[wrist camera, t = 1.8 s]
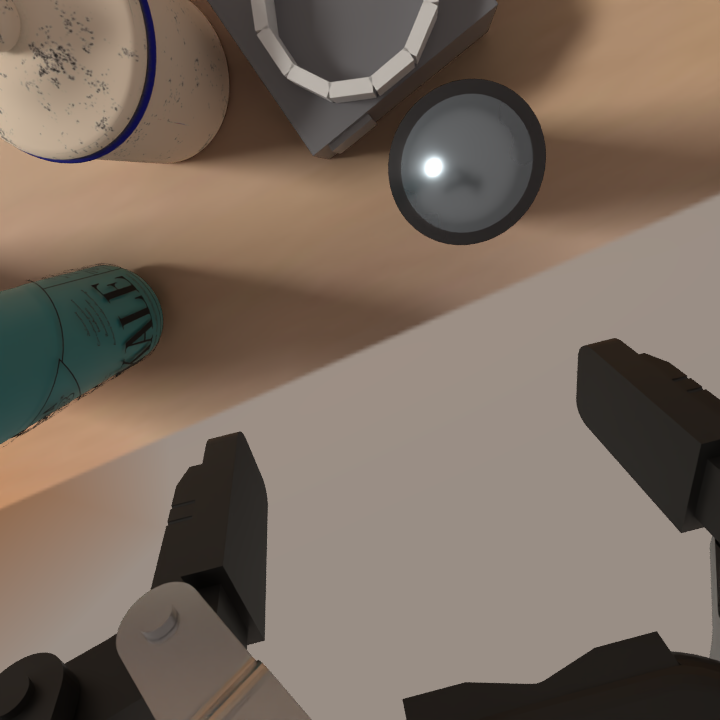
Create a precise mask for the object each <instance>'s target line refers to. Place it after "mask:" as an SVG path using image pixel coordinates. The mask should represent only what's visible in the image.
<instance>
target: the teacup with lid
mask: <svg viewBox="0 0 720 720" xmlns="http://www.w3.org/2000/svg"><path fill="white" fill-rule="evenodd" d="M228 98H229V73H228V66H227V61H226V57H225V54H224V50H223V48H222V45H221V42H220V40H219V38H218V36H217V34H216V32H215V30H214V29H213V27H212V25H211V24H210V22H209V21H208V20H207V18H206V17H205V16H204V15H203V13H202V12H201V11H200V10H199V9H198V8H197V7H196V6H195V5H194V4H193V3H192V2H190V1H189V0H0V138H2V139H3V140H5V141H6V142H8V143H9V144H11V145H13V146H14V147H16V148H18V149H20V150H22V151H24V152H26V153H28V154H30V155H32V156H35V157H37V158H40V159H44V160H47V161H51V162H58V163H82V162H87V161H91V160H95V159H100V160H115V161H130V162H145V163H161V164H167V163H175V162H180V161H183V160H186V159H188V158H190V157H192V156H194V155H196V154H197V153H199V152H200V151H201V150H203V149H204V148H205V147H206V146H207V145H208V144H209V143H210V142H211V140H212V139H213V138H214V136H215V135H216V133H217V132H218V130H219V128H220V126H221V124H222V122H223V119H224V116H225V113H226V109H227V105H228Z"/></svg>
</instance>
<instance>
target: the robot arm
mask: <svg viewBox="0 0 720 720" xmlns="http://www.w3.org/2000/svg"><path fill="white" fill-rule="evenodd" d="M576 396H577V397H576V399H577V400H576V402H577V408H578V411H579V414H580V416H581V418H582V420H583V422H584V423H585V424H586V426H587V427H588V428H589V429H590V430H591V431H592V433H593V434H594V435H595V436H596V437H597V438H598V439H599V441H600V442H601V443H602V444H603V445H604V446H605V447H606V449H607V450H608V451H609V452H610V453H611V454H612V455H613V456H614V458H615V459H616V460H617V461H618V462H619V463H620V464H621V465H622V467H623V468H624V469H625V470H626V471H627V472H628V473H629V475H630V476H631V477H632V478H633V479H634V480H635V481H636V482H637V483H638V485H639V486H640V487H641V488H642V489H643V490H644V491H645V493H646V494H647V495H648V496H649V497H650V498H651V499H652V501H653V502H654V503H655V504H656V505H657V506H658V507H659V508H660V510H661V511H662V512H663V513H664V514H665V515H666V516H667V518H668V519H669V520H670V521H671V522H672V523H673V524H674V525H675V527H676V528H677V529H678V530H679V531H680V532H681V533H683V532H687V531H691V530H695V529H699V528H703V527H705V528H706V529H707V530H708V531H709V532H710V533H711V535H712V539H711V543H710V564H711V593H712V626H713V630H712V631H713V632H712V643H711V650H710V657H709V658H707V657H702V656H699V655H694V654H688V653H681V652H671V651H670V650H669V649H668V647H667V646H666V644H665V643H664V641H663V640H662V638H661V637H660V636H659V634H658V632H652V633H649V634H645V635H641V636H637V637H634V638H630V639H626V640H622V641H619V642H615V643H611V644H608V645H604V646H600V647H596V648H594V649H592V650H591V651H589V652H588V653H587V654H585V655H583V656H582V657H580V658H578V659H577V660H576V661H574V662H572V663H571V664H569V665H568V666H566V667H565V668H563V669H562V670H560V671H558V672H557V673H555V674H554V675H552V676H551V677H549V678H548V679H546V680H545V681H542V682H540V683H537V684H509V683H470V682H468V683H467V682H465V683H461V684H458V685H454V686H450V687H446V688H443V689H439V690H435V691H432V692H428V693H424V694H420V695H416V696H413V697H409V698H405V699H403V704H404V709H405V714H406V720H720V399H718V398H717V397H716V396H714V395H713V394H711V393H710V392H709V391H707V390H703V389H702V386H700V385H699V384H698V383H696V382H695V381H694V380H692V379H691V378H690V379H688V378H687V375H685V374H684V373H683V372H681V371H680V370H679V369H677V368H676V367H675V366H673V365H672V364H670V363H669V362H667V361H664V360H661V359H659V358H656V357H653V356H651V355H648V354H645V353H643V354H638V353H636V352H635V351H634V350H632V349H631V348H630V347H628V346H627V345H626V344H624V343H623V342H622V341H621V340H619V339H616V338H613V339H609V340H605V341H601V342H597V343H593V344H589V345H585V346H583V347H581V348H580V350H579V353H578V371H577V395H576ZM267 513H268V502H267V493H266V488H265V484H264V481H263V478H262V476H261V473H260V471H259V469H258V467H257V464H256V462H255V459H254V457H253V455H252V452H251V450H250V448H249V445H248V443H247V441H246V438H245V436H244V434H243V433H242V432H237V433H233V434H228V435H224V436H221V437H216V438H213V439H209V440H208V441H207V444H206V448H205V453H204V459H203V463H202V464H201V465H196V466H192V467H189V469H188V470H187V472H186V473H185V474H184V476H183V477H182V479H181V480H180V482H179V483H178V485H177V486H176V490H175V494H174V498H173V502H172V509H171V510H170V514H169V518H168V526H166V531H165V534H164V538H163V542H162V546H161V550H160V554H159V559H158V562H157V566H156V571H155V575H154V579H153V583H152V587H151V590H150V591H149V592H147V593H146V594H144V595H143V596H142V597H141V598H139V600H137V601H136V602H135V603H134V604H133V605H132V607H131V608H130V609H129V610H128V612H127V613H126V615H125V616H124V618H123V620H122V621H121V624H120V626H119V628H118V632H117V634H115V635H114V636H112V637H111V638H109V639H108V640H106V641H104V642H102V643H101V644H99V645H97V646H95V647H93V648H92V649H90V650H88V651H86V652H85V653H83V654H82V655H79V656H78V657H76V658H74V659H72V660H71V661H69V662H67V663H65V664H64V663H63V662H62V661H61V660H60V659H59V658H58V657H57V656H55V655H53V654H51V653H37V654H33V655H30V656H27V657H25V658H23V659H21V660H19V661H17V662H15V663H14V664H12V665H11V666H9V667H8V668H7V669H5V670H4V671H3V672H2V673H0V720H311V718H310V717H309V716H308V715H307V714H306V713H305V711H304V710H303V709H302V708H301V707H300V705H298V703H297V702H296V701H295V700H294V698H293V697H292V696H291V695H290V694H289V693H288V692H287V690H286V689H285V688H284V687H283V686H282V685H281V683H280V682H279V681H278V680H277V679H276V677H275V676H274V675H273V674H272V673H271V672H270V671H269V669H268V668H267V667H266V666H265V665H264V664H263V663H262V662H261V661H259V660H258V661H256V660H255V659H254V658H253V657H252V656H251V654H250V653H249V652H248V651H247V645H249V644H253V643H257V642H260V641H264V640H265V600H266V556H267Z"/></svg>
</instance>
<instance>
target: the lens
mask: <svg viewBox="0 0 720 720" xmlns="http://www.w3.org/2000/svg"><path fill="white" fill-rule="evenodd" d="M545 162H546V148H545V141H544V136H543V132H542V129H541V126H540V124H539V121H538V119H537V117H536V115H535V114H534V112H533V111H532V109H531V108H530V106H529V105H528V104H527V103H526V102H525V101H524V100H523V98H521V97H520V96H519V95H518V94H516V93H515V92H514V91H512V90H511V89H509V88H507V87H506V86H503V85H501V84H498V83H496V82H492V81H488V80H482V79H463V80H458V81H453V82H450V83H447V84H445V85H442V86H440V87H438V88H436V89H434V90H432V91H431V92H429V93H428V94H426V95H425V96H424V97H422V98H421V99H420V100H419V101H418V102H417V103H416V104H415V105H414V106H413V107H412V108H411V109H410V110H409V111H408V113H407V114H406V115H405V117H404V118H403V120H402V121H401V123H400V125H399V127H398V129H397V131H396V133H395V136H394V139H393V141H392V145H391V149H390V154H389V163H388V175H389V182H390V187H391V191H392V195H393V197H394V200H395V202H396V205H397V206H398V208H399V210H400V212H401V213H402V215H403V216H404V217H405V219H406V220H407V221H408V222H409V223H410V224H411V225H412V226H413V227H414V228H415V229H416V230H418V231H419V232H420V233H422V234H424V235H425V236H427V237H429V238H431V239H433V240H436V241H438V242H442V243H446V244H453V245H470V244H476V243H480V242H484V241H487V240H489V239H492V238H494V237H496V236H498V235H500V234H502V233H503V232H505V231H506V230H508V229H509V228H510V227H512V226H513V225H514V224H515V223H516V222H517V221H518V220H519V219H520V218H521V217H522V216H523V215H524V214H525V213H526V211H527V210H528V209H529V207H530V206H531V204H532V203H533V201H534V199H535V197H536V195H537V193H538V191H539V188H540V186H541V183H542V180H543V175H544V171H545Z"/></svg>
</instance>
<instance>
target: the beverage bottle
mask: <svg viewBox="0 0 720 720" xmlns="http://www.w3.org/2000/svg"><path fill="white" fill-rule="evenodd" d="M99 264H104V263H98V265H99ZM96 265H97V264H96ZM109 265H111V264H109ZM86 268H87V267H84V266H83V267H82V268H81V269H83V270H79V271H75V272H71V273H70V272H68V273H67V274H63V275H59V276H58V275H57V276H55V277H54V276H53V275H51V274H50V275H51V276H53V277H51V278H48V279H44V280H40V281H36V282H33V281H31V282H32V283H28V284H24V285H21V286H19V287H16V288H12V289H8V290H4V291H0V444H2V443H3V442H5V441H6V440H8V439H10V438H13V437H15V436H17V435H18V436H19V435H20V436H21V434H22V435H23V434H25V433H26V431H25V430H26V429H27V428H28V427H29V426H31V425H33V424H34V423H36V422H38V421H39V424H40V421H42V420H43V419H44V420H43V421H46V419H47V418H48V416H50V415H51V413H52V412H54V411H57V409H58V410H59V411H60V408H62V406H65V405H67V403H70V402H71V401H72V400H74V399H75V398H79V399H80V397H81V398H83V397H82V396H81V395H82V394H84V393H85V392H88V391H89V390H90V389H92V388H95V389H94V390H96V389H98V387H99V386H100V385H101V384H102V382H103V381H105V380H106V381H107V380H108V378H110V377H112V376H114V375H116V377H117V376H118V375H119V374H122V372H123V371H124V372H125V370H126V369H129V368H130V367H131V366H134V364H136V363H138V362H139V361H141V360H142V359H143V358H144V357H145V356H146V355H147V354H150V352H151V351H152V350H153V348H154V347H155V346H157V345H156V344H158V343H157V342H159V339H160V336H161V333H162V328H163V314H162V309H161V306H160V303H159V301H158V298H157V297H156V295H155V293H154V292H153V290H152V289H151V288H150V286H149V285H148V284H147V283H146V282H145V281H144V280H143V279H142V278H140V277H139V276H138V275H136V274H134V273H133V272H131V271H128V270H126V269H123V268H121V267H120V268H119V267H118V266H117V267H115V265H114V266H108V265H100V266H95V267H91V268H87V269H86ZM71 270H73V269H71ZM68 271H69V270H68ZM63 273H66V272H63ZM54 274H55V273H54ZM46 276H47V275H46ZM27 281H29V280H27ZM155 348H156V347H155ZM154 350H155V349H154ZM151 354H152V353H151ZM151 354H150V355H151ZM147 356H148V355H147ZM139 359H140V360H139ZM142 361H143V360H142ZM126 367H127V368H126ZM126 371H127V370H126ZM112 379H113V378H112ZM112 379H111V380H112ZM109 380H110V379H109ZM109 380H108V381H109ZM100 383H101V384H100ZM99 384H100V385H99ZM103 384H104V383H103ZM103 384H102V385H103ZM98 385H99V386H98ZM96 387H97V388H96ZM94 390H93V391H94ZM91 391H92V390H91ZM85 394H86V393H85ZM87 394H88V393H87ZM87 394H86V395H87ZM89 394H90V393H89ZM84 397H85V396H84ZM79 399H77V400H79ZM76 402H77V401H76ZM66 407H67V406H66ZM64 408H65V407H64ZM62 410H63V409H62ZM49 414H50V415H49ZM53 414H55V413H53ZM53 414H52V415H53ZM52 415H51V416H52ZM46 416H47V418H46ZM51 416H50V417H49V418H51ZM52 417H53V416H52ZM49 418H48V419H49ZM41 419H42V420H41ZM48 419H47V420H48ZM43 421H42V422H43ZM42 422H41V423H42ZM39 424H38V425H39ZM38 425H37V424H36V425H35V426H38ZM35 426H34V427H33V428H35ZM30 430H31V428H30ZM30 430H29V429H28V431H30ZM24 431H25V433H24ZM21 432H22V433H21ZM19 433H20V434H19ZM18 436H17V437H18ZM17 437H16V438H17ZM12 441H13V440H12ZM12 441H11V442H12ZM8 444H9V443H8ZM5 446H6V445H5Z"/></svg>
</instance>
